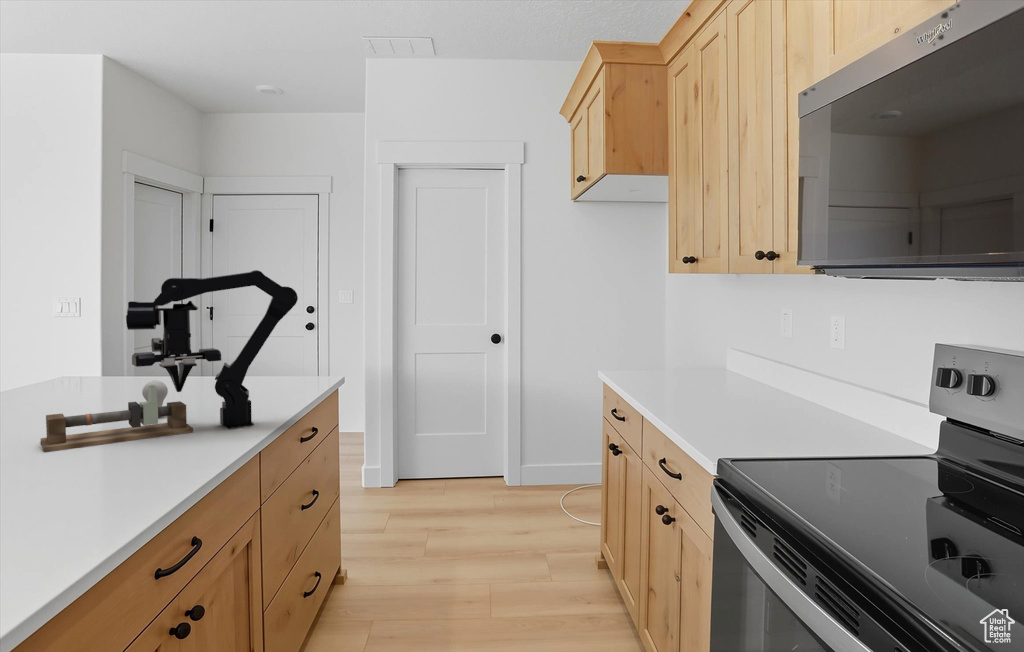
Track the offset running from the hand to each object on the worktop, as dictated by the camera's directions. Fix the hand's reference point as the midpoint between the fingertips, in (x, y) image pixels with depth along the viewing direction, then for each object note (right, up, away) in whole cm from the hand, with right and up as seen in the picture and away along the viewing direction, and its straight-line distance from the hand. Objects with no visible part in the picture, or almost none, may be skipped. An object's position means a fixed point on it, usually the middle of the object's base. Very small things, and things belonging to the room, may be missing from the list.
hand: (178, 391), depth 150 cm
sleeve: (-5, -7, -4) cm, 10 cm away
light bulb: (-14, -9, +14) cm, 21 cm away
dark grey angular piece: (-7, -7, -6) cm, 12 cm away
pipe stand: (-10, -10, -8) cm, 16 cm away
